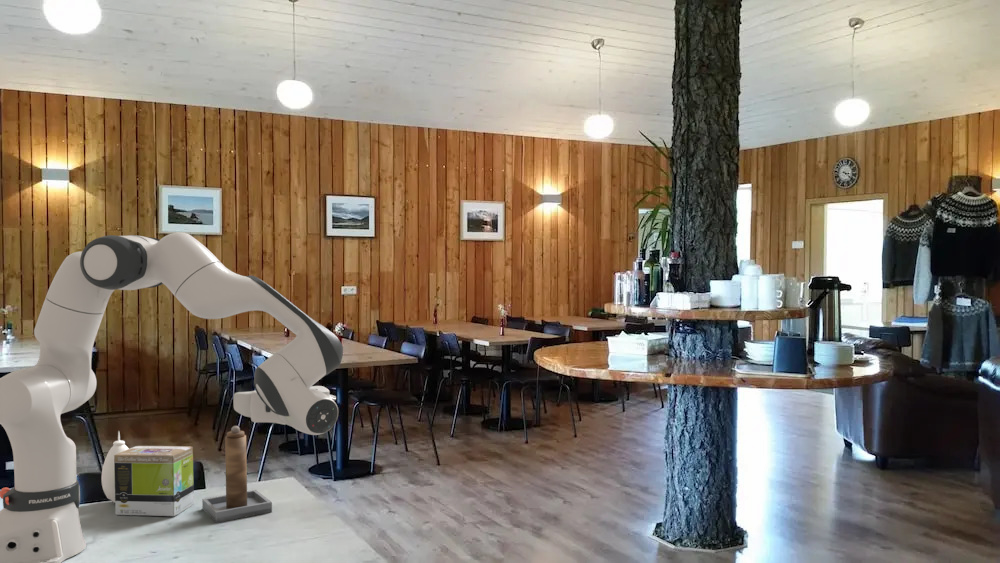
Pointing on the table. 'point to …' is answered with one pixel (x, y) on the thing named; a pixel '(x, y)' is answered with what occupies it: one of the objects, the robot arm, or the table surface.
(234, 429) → the pepper mill
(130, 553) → the table surface
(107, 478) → the sauce bottle
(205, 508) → the serving tray
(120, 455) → the tea box
